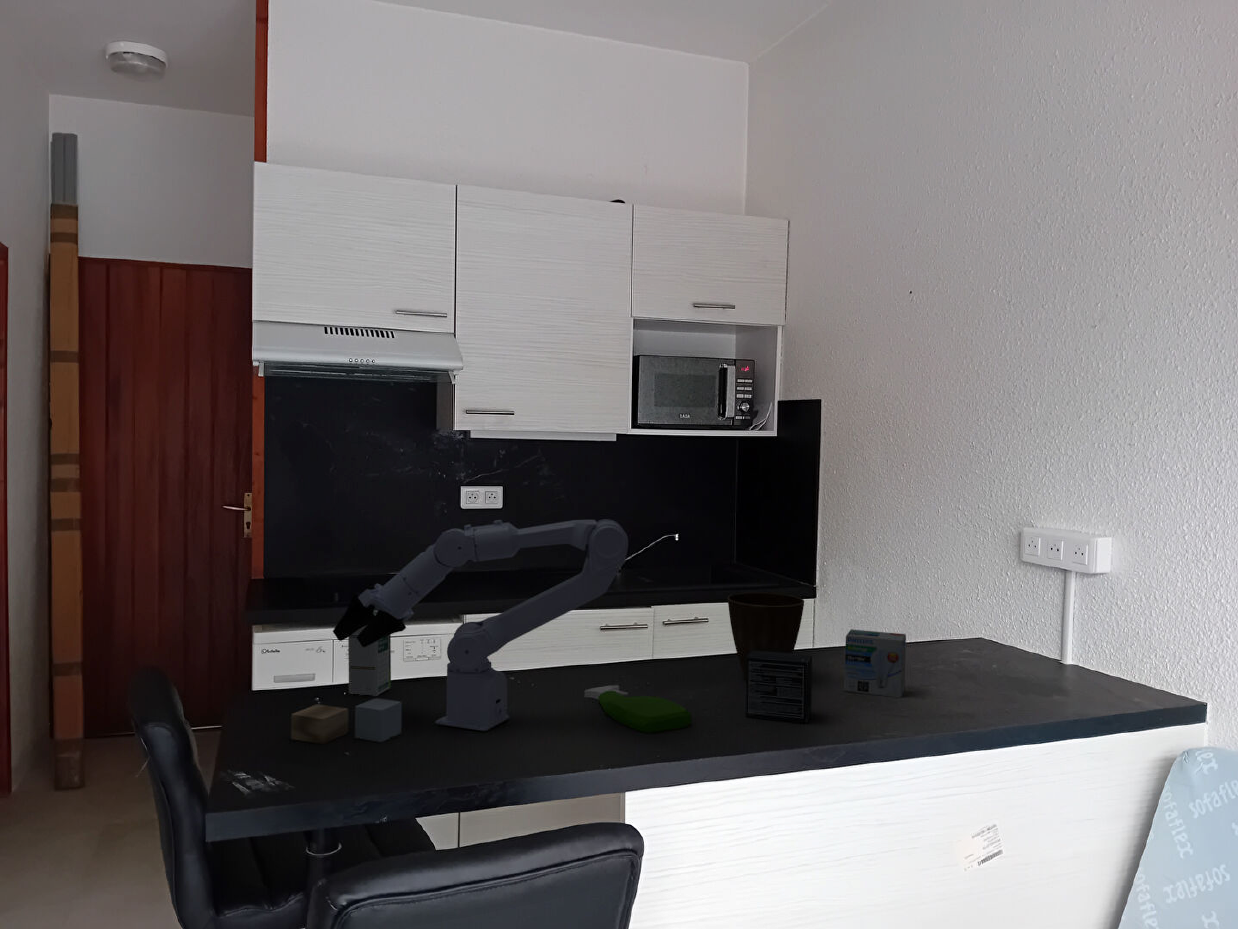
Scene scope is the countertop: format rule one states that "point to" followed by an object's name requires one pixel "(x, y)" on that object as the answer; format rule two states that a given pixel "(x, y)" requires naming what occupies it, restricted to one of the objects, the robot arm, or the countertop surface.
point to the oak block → (319, 723)
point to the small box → (779, 686)
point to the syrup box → (369, 665)
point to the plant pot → (764, 623)
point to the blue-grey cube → (378, 719)
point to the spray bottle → (640, 710)
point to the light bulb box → (875, 663)
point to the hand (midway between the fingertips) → (348, 639)
